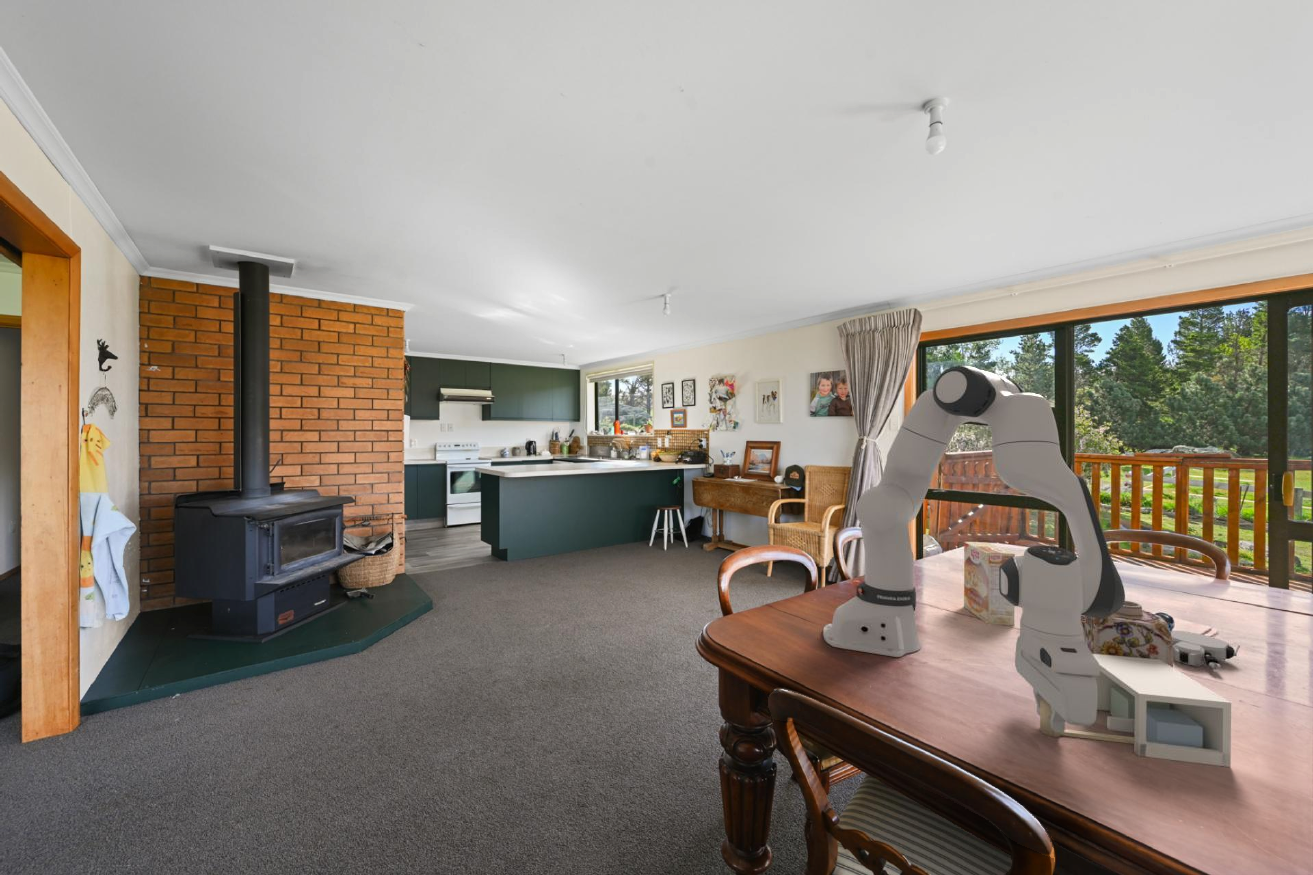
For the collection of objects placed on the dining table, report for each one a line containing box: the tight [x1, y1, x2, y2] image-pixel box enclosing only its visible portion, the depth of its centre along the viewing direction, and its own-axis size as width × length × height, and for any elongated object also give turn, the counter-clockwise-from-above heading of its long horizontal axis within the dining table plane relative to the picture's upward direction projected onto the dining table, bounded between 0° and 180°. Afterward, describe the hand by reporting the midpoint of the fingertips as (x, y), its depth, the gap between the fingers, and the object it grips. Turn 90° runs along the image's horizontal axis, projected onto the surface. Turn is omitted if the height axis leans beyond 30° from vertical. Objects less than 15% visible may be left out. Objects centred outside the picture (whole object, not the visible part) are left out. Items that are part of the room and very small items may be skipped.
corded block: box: [1039, 699, 1203, 748], centre depth 89 cm, size 21×5×5 cm, turn 76°
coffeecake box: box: [963, 541, 1016, 627], centre depth 149 cm, size 15×7×20 cm, turn 172°
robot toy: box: [1168, 628, 1241, 669], centre depth 121 cm, size 12×4×15 cm
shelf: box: [1092, 654, 1232, 768], centre depth 91 cm, size 12×16×10 cm
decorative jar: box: [1084, 600, 1174, 668], centre depth 105 cm, size 12×12×18 cm
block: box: [1110, 687, 1169, 719], centre depth 94 cm, size 6×5×5 cm
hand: (1050, 723), depth 91 cm, fingers closed on corded block, 3 cm apart
